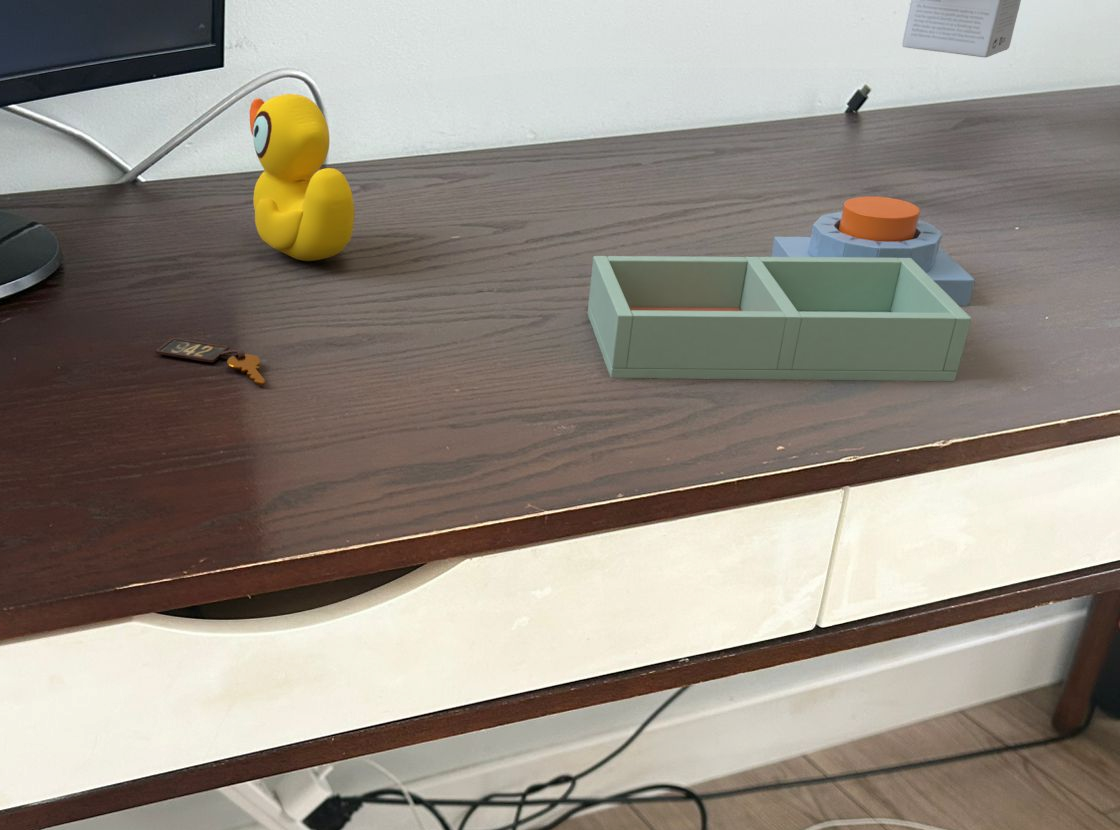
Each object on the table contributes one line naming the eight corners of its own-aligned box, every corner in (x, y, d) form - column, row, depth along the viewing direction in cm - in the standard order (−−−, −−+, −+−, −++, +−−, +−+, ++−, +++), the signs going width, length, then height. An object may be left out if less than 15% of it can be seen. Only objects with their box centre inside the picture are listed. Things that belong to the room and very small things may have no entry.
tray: (897, 316, 81) (911, 257, 79) (955, 382, 73) (972, 318, 71) (587, 314, 82) (593, 255, 80) (610, 378, 74) (618, 315, 72)
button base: (923, 262, 89) (936, 209, 87) (968, 306, 83) (983, 250, 81) (769, 261, 90) (779, 208, 88) (801, 305, 83) (812, 249, 81)
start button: (900, 223, 86) (906, 196, 85) (923, 246, 82) (930, 217, 82) (829, 223, 86) (835, 195, 85) (850, 246, 83) (856, 217, 82)
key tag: (148, 351, 77) (147, 341, 77) (183, 335, 79) (182, 325, 79) (261, 386, 73) (261, 376, 72) (296, 368, 75) (295, 358, 74)
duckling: (223, 236, 95) (217, 85, 89) (291, 223, 97) (289, 76, 91) (302, 285, 86) (300, 122, 81) (375, 270, 88) (377, 111, 83)
